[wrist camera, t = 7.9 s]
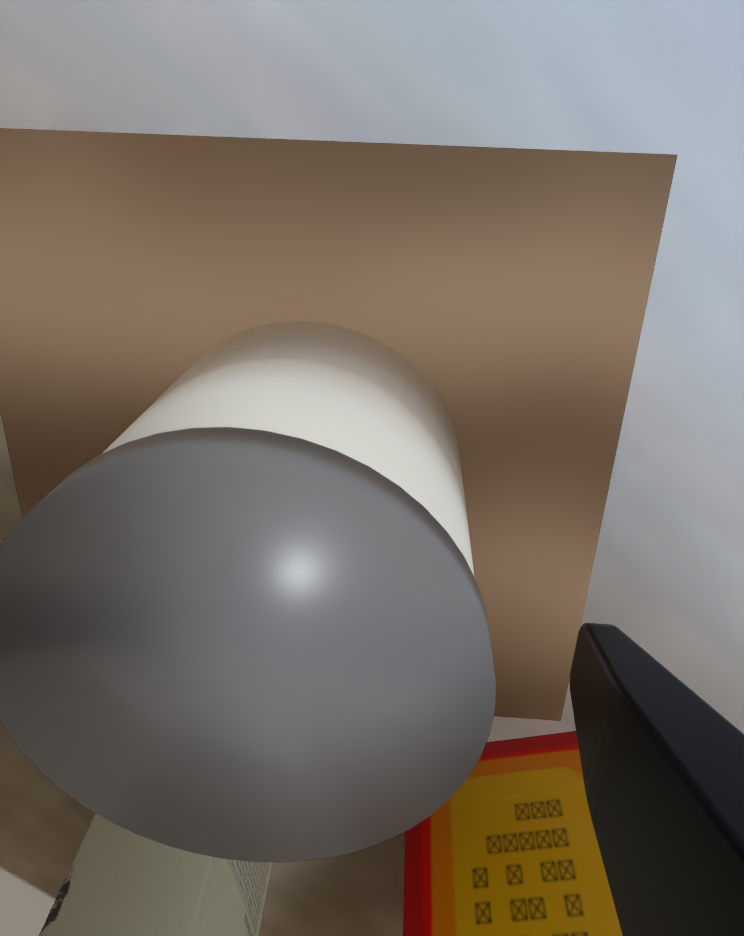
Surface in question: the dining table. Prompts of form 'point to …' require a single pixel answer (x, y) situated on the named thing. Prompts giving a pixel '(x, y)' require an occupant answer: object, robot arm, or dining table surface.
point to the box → (155, 890)
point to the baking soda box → (511, 850)
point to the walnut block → (350, 319)
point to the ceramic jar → (257, 608)
